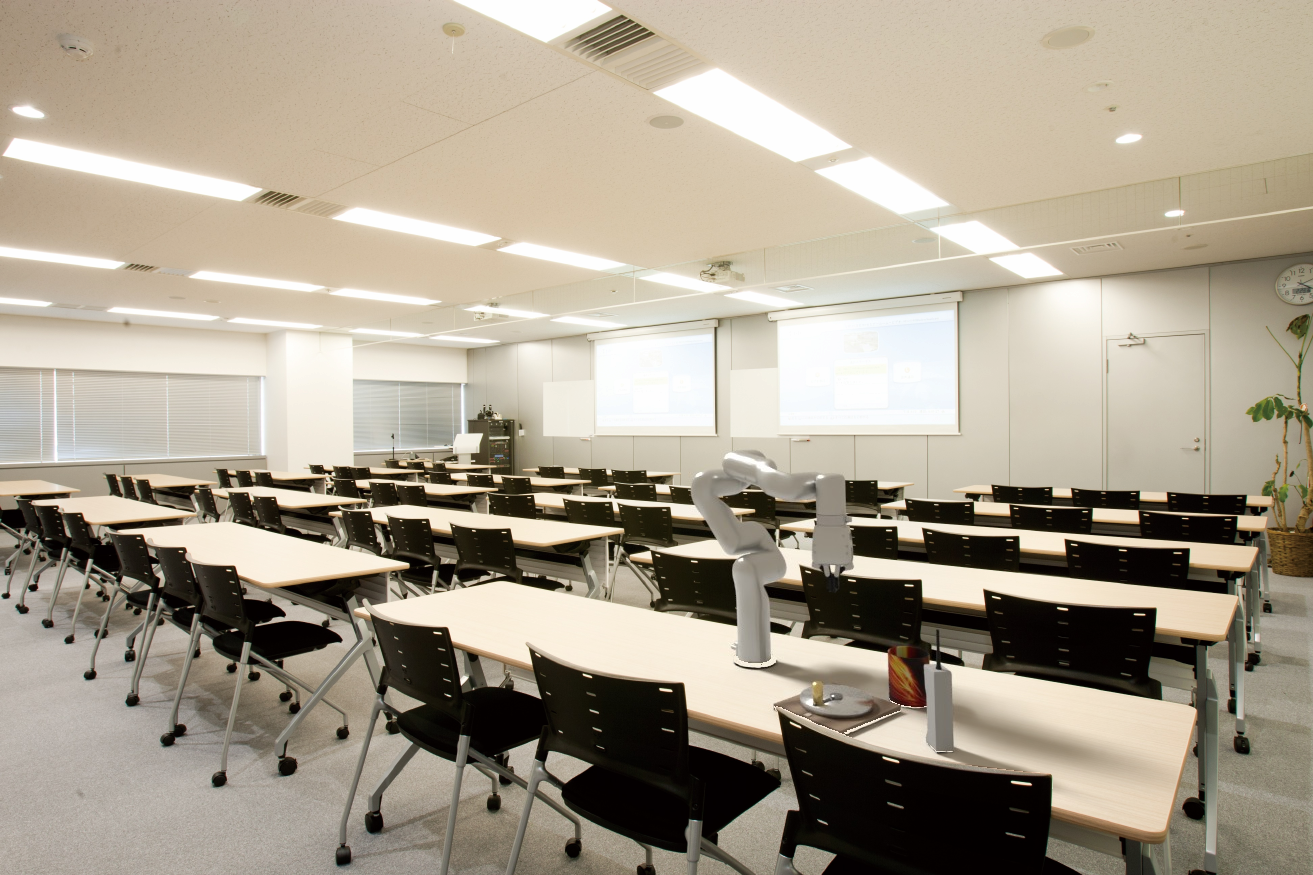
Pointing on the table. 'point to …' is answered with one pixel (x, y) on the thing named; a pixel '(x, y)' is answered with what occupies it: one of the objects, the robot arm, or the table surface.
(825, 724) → the base board
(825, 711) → the dial
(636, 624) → the table surface
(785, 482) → the robot arm
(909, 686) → the mug
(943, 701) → the vintage mobile phone
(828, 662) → the table surface
